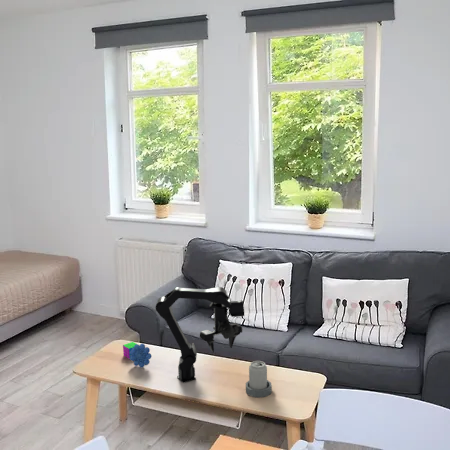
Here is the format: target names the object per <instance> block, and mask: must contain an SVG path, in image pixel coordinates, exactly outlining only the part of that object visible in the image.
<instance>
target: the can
mask: <svg viewBox="0 0 450 450" xmlns="http://www.w3.org/2000/svg"><path fill="white" fill-rule="evenodd" d="M267 380H268V367H267V365H266V362H264V361H261V360H254V361H251V362H250V365H249V367H248V381H249V388H251V389H254V390H263V389H266V388H267Z"/></svg>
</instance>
